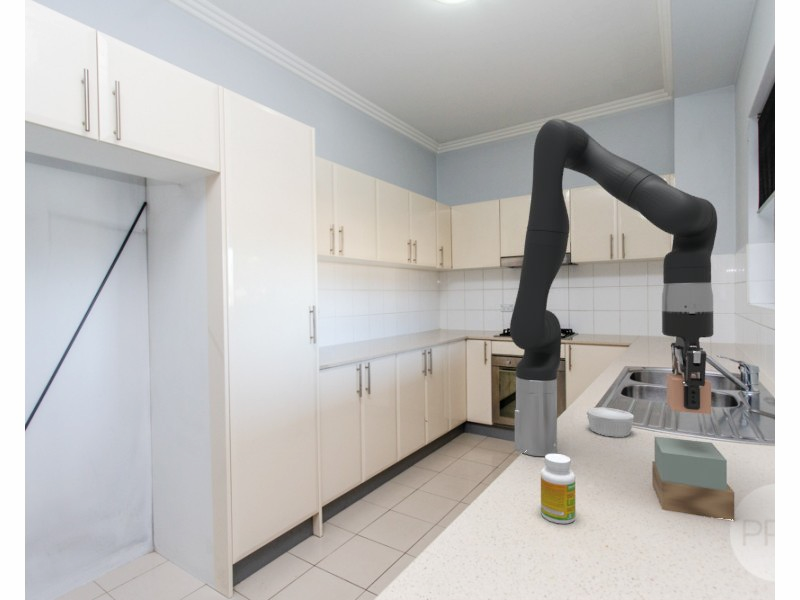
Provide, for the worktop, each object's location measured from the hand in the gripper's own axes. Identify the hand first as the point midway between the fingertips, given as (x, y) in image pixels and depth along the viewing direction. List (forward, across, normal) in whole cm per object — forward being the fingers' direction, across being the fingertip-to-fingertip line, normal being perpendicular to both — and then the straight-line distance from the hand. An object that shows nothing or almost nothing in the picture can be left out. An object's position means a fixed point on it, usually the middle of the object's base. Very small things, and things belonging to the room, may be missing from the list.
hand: (687, 404), depth 75 cm
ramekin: (+17, -37, -10) cm, 42 cm away
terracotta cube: (+1, 0, 0) cm, 1 cm away
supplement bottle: (+17, +14, -21) cm, 31 cm away
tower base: (+18, 0, 0) cm, 18 cm away
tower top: (+13, 0, 0) cm, 13 cm away
